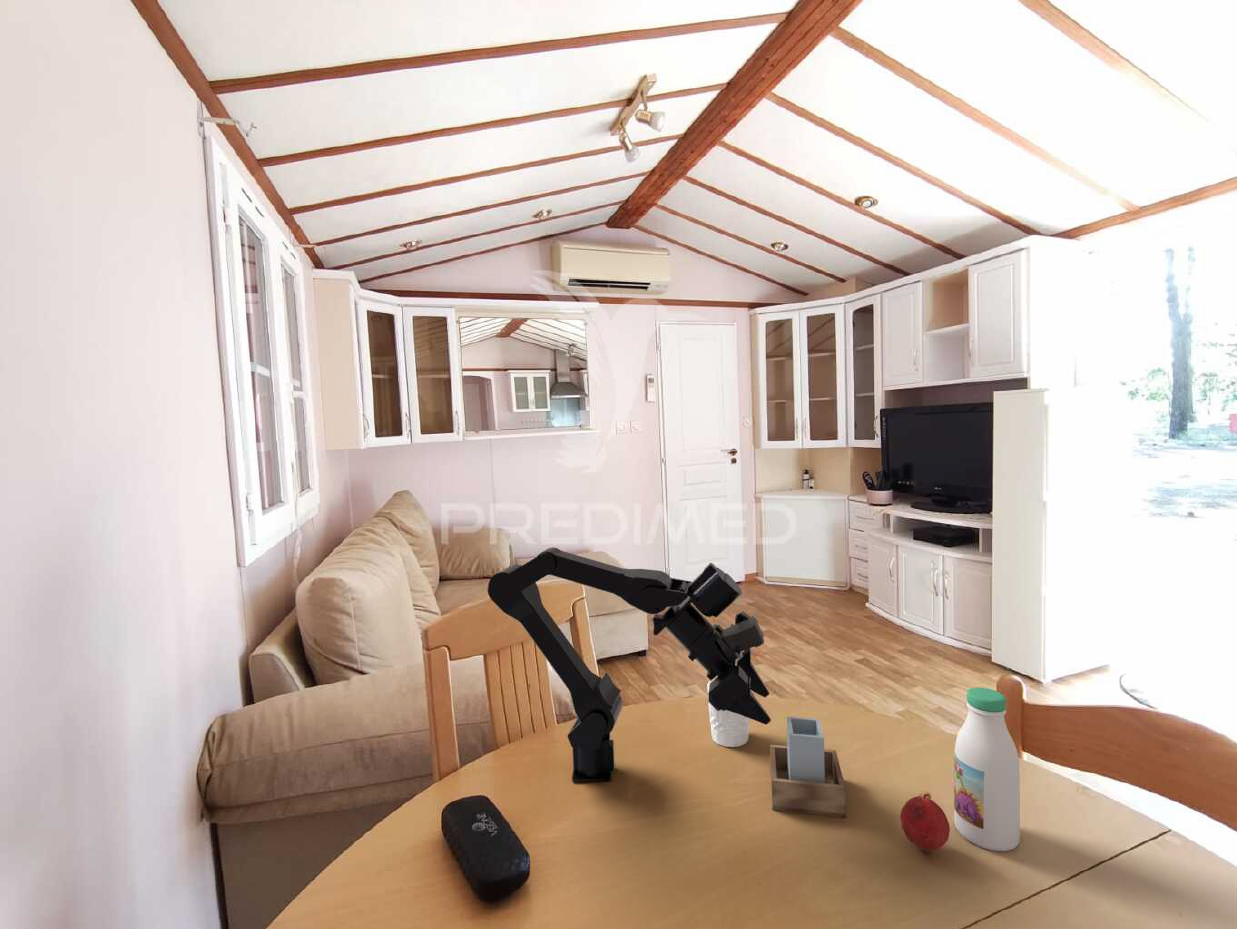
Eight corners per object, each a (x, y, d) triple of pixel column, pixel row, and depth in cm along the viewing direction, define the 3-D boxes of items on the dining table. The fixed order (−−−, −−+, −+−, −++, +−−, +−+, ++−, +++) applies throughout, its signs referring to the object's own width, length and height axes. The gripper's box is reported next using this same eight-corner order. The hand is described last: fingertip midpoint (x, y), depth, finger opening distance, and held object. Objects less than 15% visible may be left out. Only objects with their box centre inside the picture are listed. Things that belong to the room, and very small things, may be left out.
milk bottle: (1009, 821, 84) (1010, 684, 83) (1028, 858, 76) (1028, 709, 75) (949, 811, 86) (948, 678, 85) (960, 846, 79) (960, 702, 78)
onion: (930, 871, 75) (930, 811, 74) (891, 844, 80) (890, 787, 79) (958, 855, 77) (958, 797, 77) (919, 830, 82) (918, 775, 82)
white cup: (755, 749, 105) (754, 694, 104) (711, 749, 105) (710, 695, 104) (746, 727, 113) (745, 676, 112) (705, 728, 113) (704, 677, 112)
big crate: (772, 809, 88) (771, 780, 88) (770, 770, 98) (770, 744, 98) (845, 817, 85) (845, 787, 85) (836, 777, 96) (835, 750, 95)
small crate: (790, 798, 89) (789, 735, 89) (787, 776, 95) (786, 716, 95) (824, 802, 88) (824, 737, 88) (820, 779, 94) (819, 718, 94)
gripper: (730, 620, 84) (811, 702, 82) (734, 587, 102) (801, 653, 100) (676, 670, 86) (754, 751, 84) (690, 628, 104) (754, 694, 102)
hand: (768, 708), depth 92 cm, fingers open, 9 cm apart
